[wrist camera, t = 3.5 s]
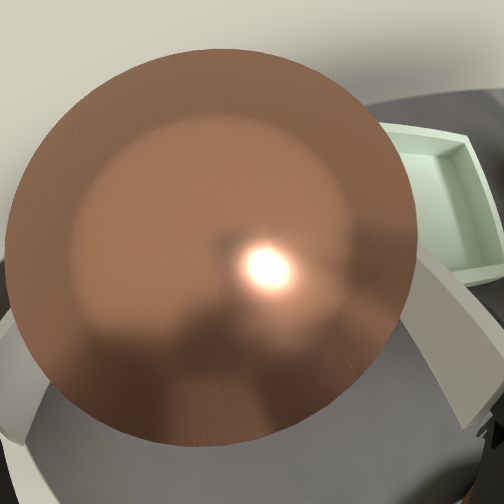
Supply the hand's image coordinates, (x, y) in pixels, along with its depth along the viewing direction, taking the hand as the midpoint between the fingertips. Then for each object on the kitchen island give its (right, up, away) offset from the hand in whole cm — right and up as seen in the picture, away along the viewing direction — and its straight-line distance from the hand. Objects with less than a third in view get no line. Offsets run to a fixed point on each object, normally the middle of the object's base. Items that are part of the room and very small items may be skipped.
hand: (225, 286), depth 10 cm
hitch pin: (0, -3, +9) cm, 9 cm away
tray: (+16, +5, +12) cm, 20 cm away
